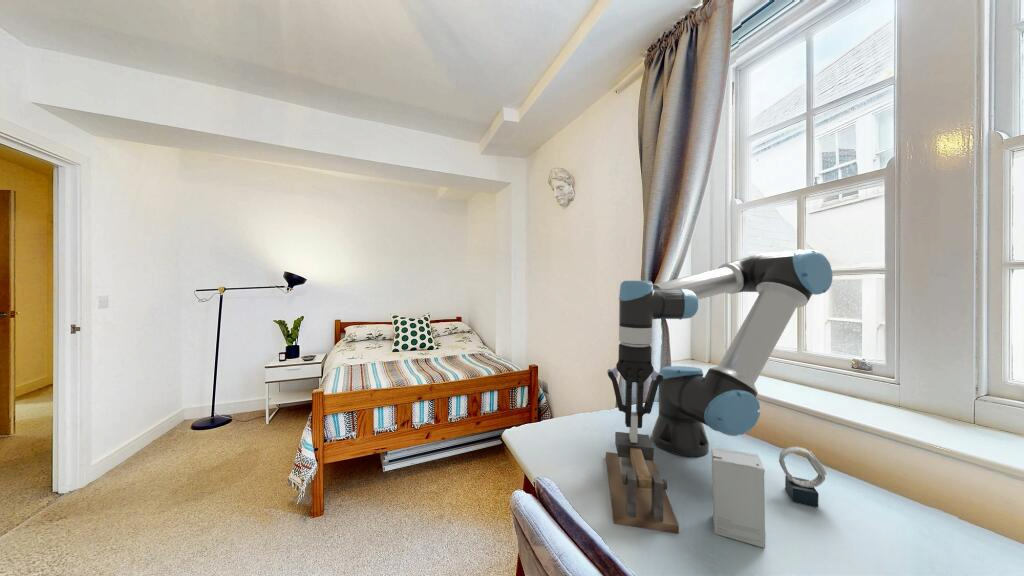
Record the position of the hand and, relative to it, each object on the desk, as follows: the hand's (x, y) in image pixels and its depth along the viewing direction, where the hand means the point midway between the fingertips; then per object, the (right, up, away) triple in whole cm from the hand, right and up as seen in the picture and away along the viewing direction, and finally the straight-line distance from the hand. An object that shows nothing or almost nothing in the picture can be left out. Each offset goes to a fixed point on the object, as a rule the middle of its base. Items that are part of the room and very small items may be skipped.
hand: (633, 440), depth 81 cm
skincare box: (+14, -10, -17) cm, 24 cm away
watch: (+36, -10, -6) cm, 38 cm away
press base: (-1, -10, -3) cm, 10 cm away
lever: (-1, -3, -6) cm, 7 cm away
